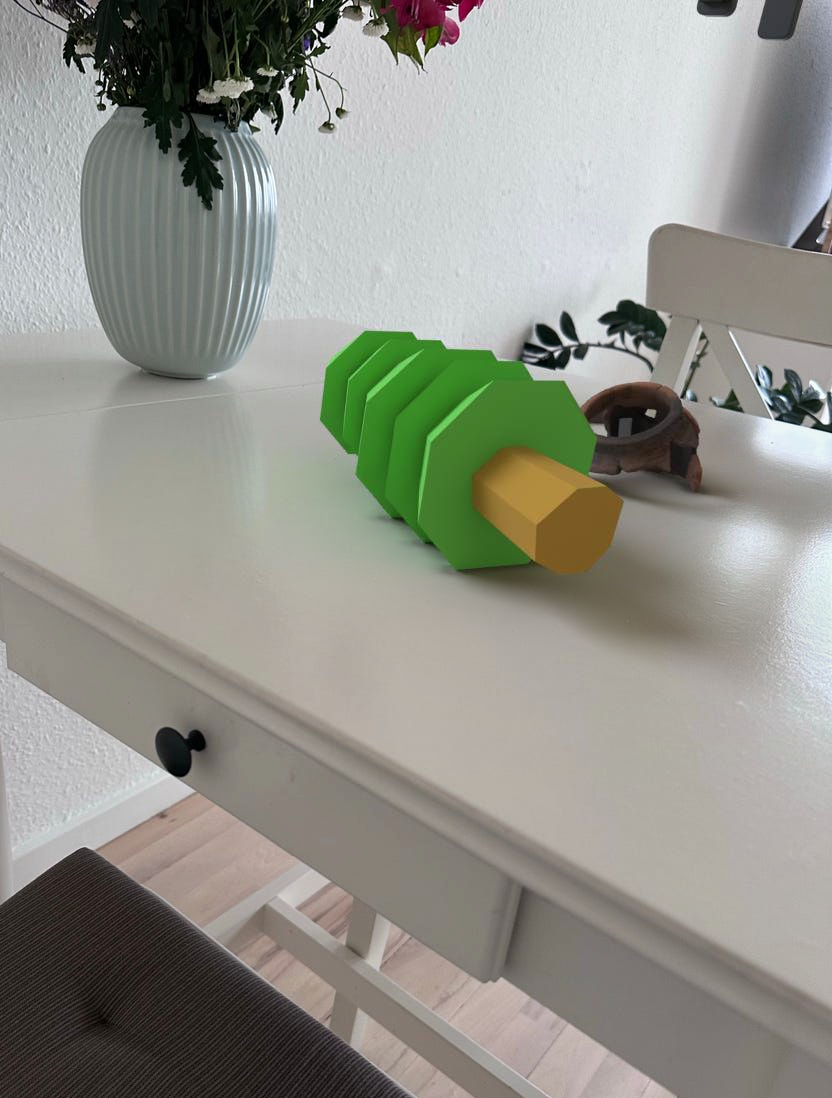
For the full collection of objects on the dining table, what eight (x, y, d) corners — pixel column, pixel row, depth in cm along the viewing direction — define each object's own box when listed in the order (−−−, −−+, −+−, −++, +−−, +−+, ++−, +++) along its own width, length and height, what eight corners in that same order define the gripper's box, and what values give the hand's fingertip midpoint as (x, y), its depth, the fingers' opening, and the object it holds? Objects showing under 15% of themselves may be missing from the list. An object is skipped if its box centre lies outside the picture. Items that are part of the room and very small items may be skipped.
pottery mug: (727, 516, 68) (718, 419, 62) (595, 557, 69) (575, 467, 64) (671, 428, 77) (659, 336, 71) (555, 466, 78) (535, 380, 73)
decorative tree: (569, 374, 40) (303, 247, 63) (436, 605, 44) (229, 405, 67) (722, 465, 47) (430, 320, 70) (596, 661, 50) (357, 461, 73)
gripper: (855, -394, 46) (753, 8, 53) (944, -280, 55) (847, 48, 63) (710, -359, 50) (634, 7, 58) (816, -259, 60) (739, 45, 67)
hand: (745, 28), depth 60 cm, fingers open, 8 cm apart
